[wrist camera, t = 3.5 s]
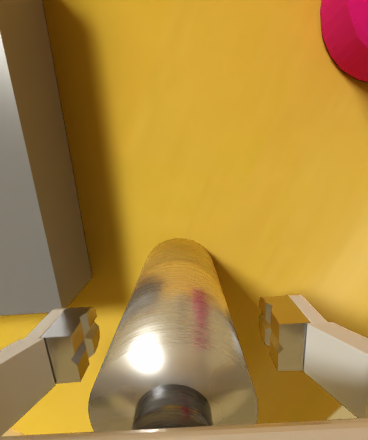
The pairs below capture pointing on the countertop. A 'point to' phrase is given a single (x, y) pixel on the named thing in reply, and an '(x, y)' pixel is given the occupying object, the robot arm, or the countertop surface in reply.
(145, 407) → the cell
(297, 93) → the countertop surface
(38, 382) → the robot arm
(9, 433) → the calculator
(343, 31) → the pepper mill
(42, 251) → the grey stepped block frame
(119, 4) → the countertop surface
